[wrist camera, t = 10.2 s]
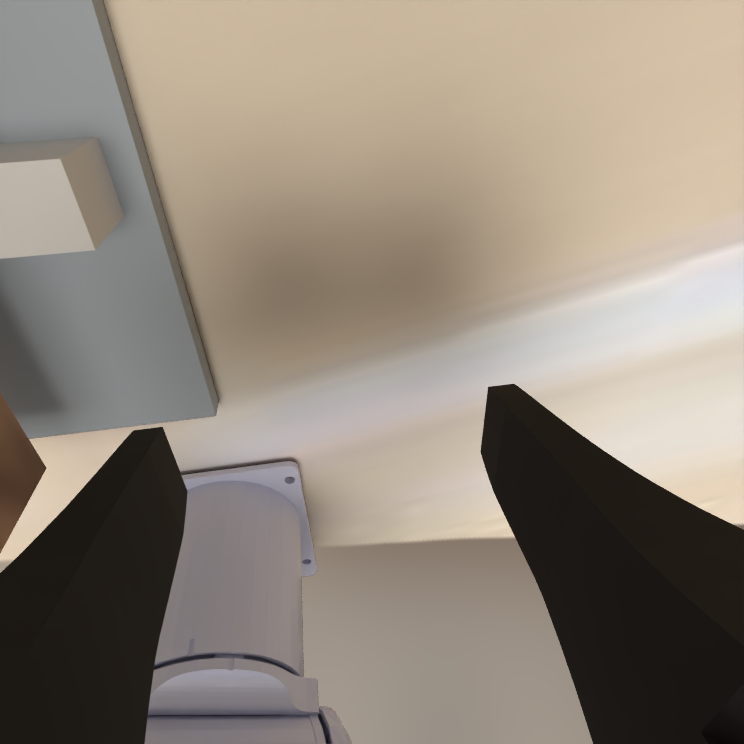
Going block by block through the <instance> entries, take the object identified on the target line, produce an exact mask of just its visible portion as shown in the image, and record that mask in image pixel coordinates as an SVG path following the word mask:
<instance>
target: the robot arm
mask: <svg viewBox="0 0 744 744" xmlns="http://www.w3.org/2000/svg"><path fill="white" fill-rule="evenodd" d="M481 455H482V458H483V461H484V464H485V468H486V471H487V474H488V477H489V480H490V483H491V485H492V488H493V491H494V493H495V496H496V498H497V500H498V502H499V504H500V506H501V508H502V511H503V513H504V515H505V517H506V519H507V521H508V523H509V525H510V527H511V529H512V531H513V534H514V536H515V538H516V540H517V542H518V544H519V546H520V548H521V550H522V552H523V554H524V556H525V558H526V561H527V563H528V565H529V567H530V569H531V571H532V573H533V575H534V577H535V579H536V582H537V584H538V586H539V589H540V591H541V593H542V595H543V598H544V601H545V603H546V606H547V609H548V611H549V614H550V617H551V620H552V623H553V625H554V628H555V631H556V633H557V636H558V639H559V642H560V644H561V647H562V650H563V653H564V656H565V659H566V662H567V665H568V668H569V671H570V673H571V676H572V679H573V682H574V685H575V688H576V691H577V694H578V698H579V700H580V704H581V707H582V710H583V713H584V716H585V719H586V722H587V726H588V729H589V732H590V735H591V738H592V741H593V744H744V530H743V529H741V528H739V527H737V526H735V525H733V524H731V523H729V522H726V521H724V520H722V519H720V518H718V517H716V516H714V515H712V514H710V513H708V512H706V511H704V510H702V509H700V508H698V507H696V506H695V505H693V504H691V503H689V502H687V501H685V500H683V499H681V498H680V497H678V496H676V495H674V494H673V493H671V492H669V491H667V490H666V489H664V488H662V487H660V486H659V485H657V484H655V483H653V482H652V481H650V480H648V479H647V478H645V477H643V476H642V475H640V474H638V473H637V472H635V471H634V470H632V469H630V468H629V467H627V466H626V465H624V464H623V463H621V462H620V461H618V460H617V459H615V458H614V457H612V456H611V455H609V454H608V453H606V452H605V451H603V450H602V449H600V448H599V447H598V446H596V445H595V444H593V443H592V442H590V441H589V440H588V439H586V438H585V437H583V436H582V435H581V434H579V433H578V432H577V431H575V430H574V429H573V428H571V427H570V426H569V425H567V424H566V423H565V422H563V421H562V420H561V419H559V418H558V417H557V416H555V415H554V414H553V413H552V412H550V411H549V410H548V409H546V408H545V407H544V406H543V405H541V404H540V403H539V402H537V401H536V400H535V399H534V398H532V397H531V396H530V395H528V394H527V393H526V392H525V391H523V390H522V389H521V388H519V387H518V386H517V385H515V384H509V385H501V386H493V387H488V394H487V402H486V411H485V419H484V428H483V436H482V445H481ZM287 477H292V478H287ZM316 572H317V564H316V559H315V554H314V548H313V543H312V537H311V532H310V526H309V521H308V516H307V510H306V505H305V500H304V494H303V489H302V483H301V478H300V473H299V467H298V465H297V464H296V463H295V462H292V461H285V462H277V463H270V464H262V465H255V466H247V467H239V468H232V469H224V470H217V471H209V472H201V473H194V474H186V475H181V473H180V471H179V468H178V466H177V463H176V460H175V458H174V455H173V453H172V450H171V447H170V445H169V442H168V440H167V437H166V435H165V432H164V429H163V427H159V428H151V429H142V430H134V431H133V432H132V433H131V434H130V435H129V436H128V437H127V438H126V439H125V440H124V442H123V443H122V444H121V445H120V446H119V447H118V448H117V450H116V451H115V452H114V453H113V454H112V455H111V457H110V458H109V459H108V460H107V461H106V462H105V464H104V465H103V466H102V467H101V468H100V469H99V470H98V472H97V473H96V474H95V475H94V476H93V477H92V479H91V480H90V481H89V482H88V483H87V484H86V485H85V486H84V488H83V489H82V490H81V491H80V492H79V493H78V494H77V495H76V497H75V498H74V499H73V500H72V501H71V502H70V503H69V504H68V505H67V507H66V508H65V509H64V510H63V511H62V512H61V513H60V514H59V515H58V516H57V517H56V518H55V519H54V520H53V521H52V522H51V523H50V524H49V525H48V526H47V527H46V528H45V529H44V530H43V531H42V533H41V534H40V535H39V536H38V537H37V538H36V539H35V540H34V541H33V542H32V543H31V544H30V545H29V546H28V547H27V548H26V549H25V550H24V551H23V552H22V553H21V554H20V555H19V556H18V557H17V558H16V559H15V560H14V561H13V562H12V563H11V564H10V565H9V566H7V567H6V568H5V570H3V571H2V572H1V573H0V744H352V742H351V739H350V737H349V735H348V733H347V731H346V729H345V728H344V726H343V725H342V723H341V721H340V719H339V717H338V716H337V714H336V712H335V711H334V710H333V709H331V708H329V707H325V706H319V703H318V681H317V679H315V678H305V677H304V660H303V620H302V585H301V584H302V583H301V582H302V581H301V577H307V576H311V575H314V574H315V573H316Z"/></svg>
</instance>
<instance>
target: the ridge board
mask: <svg viewBox="0 0 744 744" xmlns="http://www.w3.org/2000/svg"><path fill="white" fill-rule="evenodd" d="M0 393H1V395H2V396H3V398H4V400H5V401H6V403H7V405H8V406H9V408H10V409H11V411H12V413H13V414H14V416H15V418H16V419H17V421H18V423H19V424H20V426H21V427H22V429H23V431H24V432H25V434H26V436H27V437H28V439H32V438H41V437H49V436H57V435H65V434H73V433H81V432H90V431H98V430H106V429H114V428H122V427H131V426H139V425H147V424H155V423H163V422H172V421H180V420H188V419H196V418H204V417H213V416H216V413H217V408H218V402H219V401H218V398H217V395H216V391H215V388H214V384H213V381H212V377H211V374H210V370H209V367H208V363H207V360H206V356H205V353H204V350H203V346H202V343H201V339H200V336H199V332H198V329H197V325H196V322H195V318H194V315H193V311H192V308H191V304H190V301H189V298H188V294H187V291H186V287H185V284H184V280H183V277H182V273H181V270H180V266H179V263H178V259H177V256H176V253H175V249H174V246H173V242H172V239H171V235H170V232H169V228H168V225H167V221H166V218H165V214H164V211H163V208H162V204H161V201H160V197H159V194H158V190H157V187H156V183H155V180H154V176H153V173H152V169H151V166H150V162H149V159H148V156H147V152H146V149H145V145H144V142H143V138H142V135H141V131H140V128H139V124H138V121H137V117H136V114H135V111H134V107H133V104H132V100H131V97H130V93H129V90H128V86H127V83H126V79H125V76H124V72H123V69H122V66H121V62H120V59H119V55H118V52H117V48H116V45H115V41H114V38H113V34H112V31H111V27H110V24H109V20H108V17H107V14H106V10H105V7H104V3H103V0H0Z"/></svg>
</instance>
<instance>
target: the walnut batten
mask: <svg viewBox="0 0 744 744" xmlns="http://www.w3.org/2000/svg"><path fill="white" fill-rule="evenodd" d="M45 470H46V467H45V465H44V463H43V462H42V460H41V458H40V457H39V455H38V454H37V452H36V450H35V449H34V447H33V445H32V444H31V442H30V441H29V439H28V437H27V436H26V434H25V432H24V431H23V429H22V427H21V426H20V424H19V423H18V421H17V419H16V418H15V416H14V414H13V413H12V411H11V409H10V408H9V406H8V405H7V403H6V401H5V400H4V398H3V396H2V395H1V393H0V553H1V551H2V549H3V547H4V545H5V543H6V542H7V540H8V538H9V536H10V534H11V532H12V531H13V529H14V527H15V525H16V523H17V521H18V520H19V518H20V516H21V514H22V512H23V510H24V508H25V507H26V505H27V503H28V501H29V499H30V497H31V496H32V494H33V492H34V490H35V488H36V486H37V484H38V483H39V481H40V479H41V477H42V475H43V473H44V472H45Z"/></svg>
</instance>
